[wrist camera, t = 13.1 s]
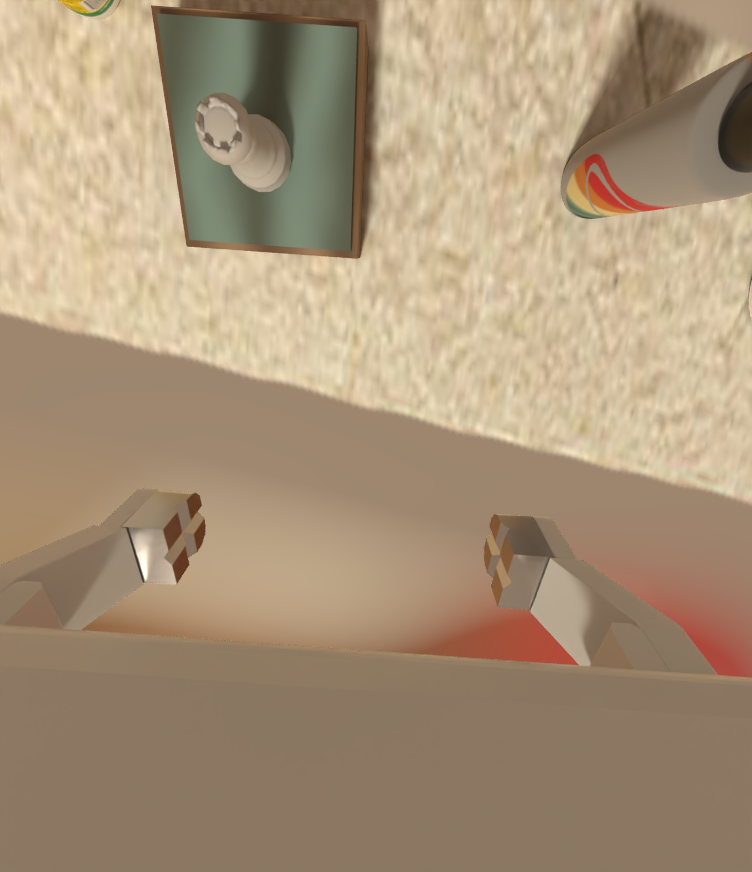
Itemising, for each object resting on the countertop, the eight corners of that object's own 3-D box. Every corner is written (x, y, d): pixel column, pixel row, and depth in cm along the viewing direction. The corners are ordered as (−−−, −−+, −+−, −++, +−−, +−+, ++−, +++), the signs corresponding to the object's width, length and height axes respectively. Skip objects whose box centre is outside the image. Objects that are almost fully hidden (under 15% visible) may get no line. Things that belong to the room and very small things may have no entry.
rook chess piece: (260, 206, 29) (217, 192, 22) (219, 147, 27) (158, 111, 20) (305, 167, 28) (275, 138, 20) (265, 102, 26) (217, 47, 19)
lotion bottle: (569, 233, 32) (790, 214, 14) (550, 162, 30) (782, 37, 12) (638, 196, 31) (975, 125, 13) (623, 119, 29) (1003, -91, 11)
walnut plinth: (368, 47, 27) (365, 17, 24) (360, 257, 34) (356, 258, 30) (179, 33, 27) (147, 1, 24) (206, 246, 34) (184, 246, 30)
